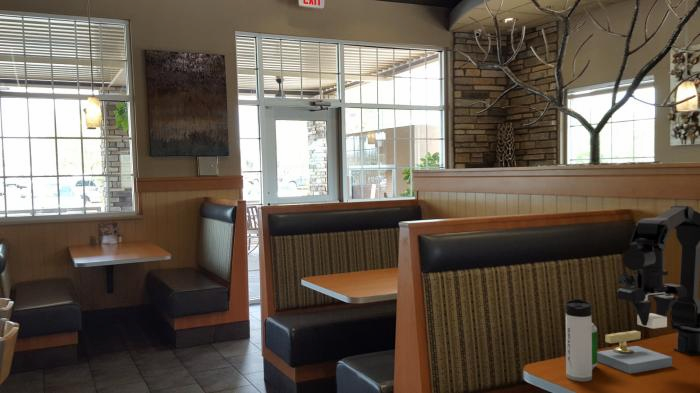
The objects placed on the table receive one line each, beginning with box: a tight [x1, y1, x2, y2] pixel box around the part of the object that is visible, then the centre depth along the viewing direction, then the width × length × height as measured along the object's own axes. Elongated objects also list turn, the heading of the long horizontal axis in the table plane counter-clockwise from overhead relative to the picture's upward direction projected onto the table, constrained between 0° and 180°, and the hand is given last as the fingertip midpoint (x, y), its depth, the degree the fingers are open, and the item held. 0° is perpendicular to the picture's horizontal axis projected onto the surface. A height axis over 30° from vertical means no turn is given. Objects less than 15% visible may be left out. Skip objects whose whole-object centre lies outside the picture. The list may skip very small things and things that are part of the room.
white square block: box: [636, 312, 668, 330], centre depth 157 cm, size 5×5×3 cm
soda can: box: [592, 322, 598, 370], centre depth 160 cm, size 8×8×12 cm
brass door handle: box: [604, 329, 642, 353], centre depth 166 cm, size 4×11×5 cm, turn 110°
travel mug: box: [565, 298, 593, 383], centre depth 152 cm, size 6×7×20 cm
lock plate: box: [597, 345, 673, 374], centre depth 162 cm, size 15×12×3 cm
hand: (652, 324), depth 157 cm, fingers closed on white square block, 5 cm apart
